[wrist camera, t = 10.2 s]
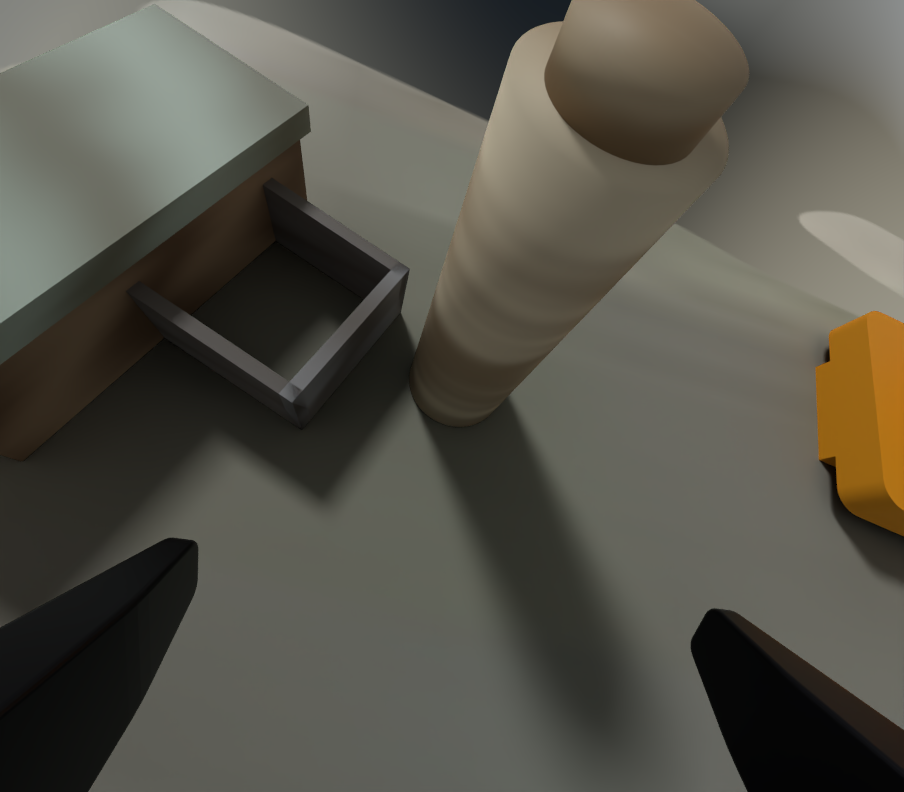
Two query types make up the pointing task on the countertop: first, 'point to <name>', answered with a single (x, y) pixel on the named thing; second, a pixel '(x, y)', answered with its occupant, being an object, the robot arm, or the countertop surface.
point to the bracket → (865, 417)
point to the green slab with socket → (155, 222)
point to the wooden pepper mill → (573, 187)
